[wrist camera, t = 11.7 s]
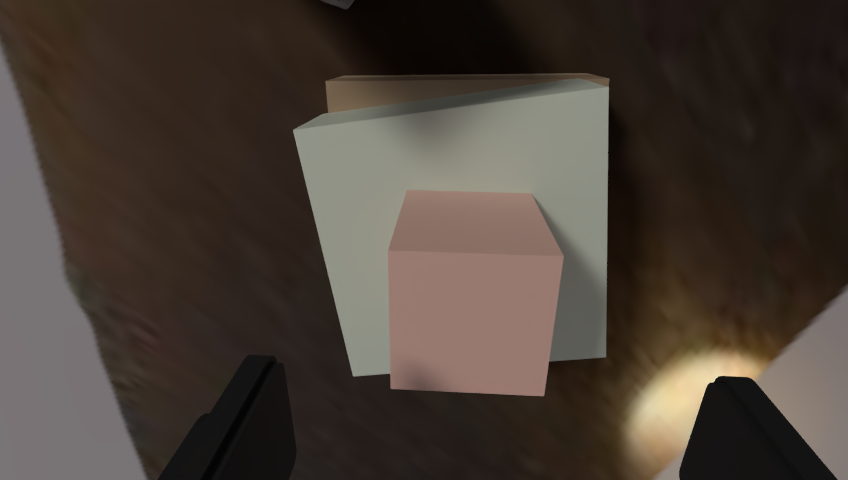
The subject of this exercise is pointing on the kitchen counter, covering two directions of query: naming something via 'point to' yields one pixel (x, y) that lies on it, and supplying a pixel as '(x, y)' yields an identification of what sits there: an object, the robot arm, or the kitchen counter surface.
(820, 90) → the kitchen counter surface
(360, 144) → the tower top
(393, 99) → the tower base
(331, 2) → the coffee box
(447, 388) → the pink block
